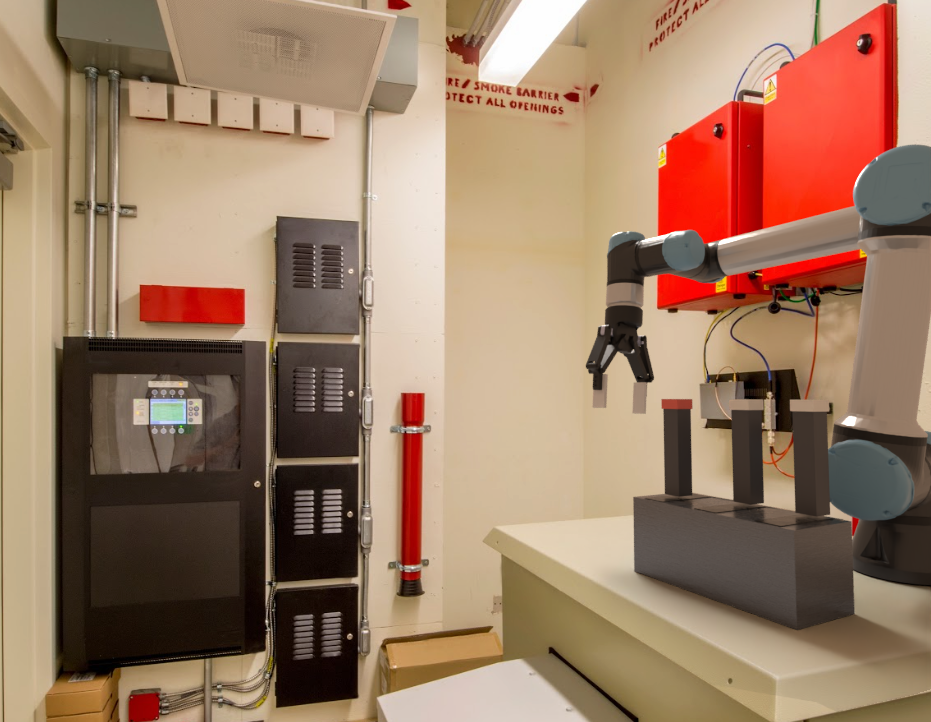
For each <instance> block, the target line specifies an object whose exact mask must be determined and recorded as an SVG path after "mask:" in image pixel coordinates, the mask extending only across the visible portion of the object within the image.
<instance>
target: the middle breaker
mask: <svg viewBox="0 0 931 722" xmlns="http://www.w3.org/2000/svg"><path fill="white" fill-rule="evenodd" d="M728 402H729V403H728V407H729V408H728V410H730V413H731V414H730V415H731V417H730V418H731V452H732V453H731V456H732V457H731V459H732V491H733V493H732V497H733V499H732V500H733V502H738V503H744V504H749V505H753V504H760V505H762V504H765V493H764V491H765V489H764V487H765V486H764V455H763V453H764V452H763V451H764V450H763V447H764V446H763V415H762V414H763V413H762V411H764V410H765V409H764V399H763V398H761V399H758V398H757V399H754V398H753V399H752V398H751V399H749V398H745V399H744V398H742V399H741V398H739V399H737V398H736V399H734V398H733V399H732V398H731V399H730V398H729V399H728Z"/></svg>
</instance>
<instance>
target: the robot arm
mask: <svg viewBox="0 0 931 722" xmlns="http://www.w3.org/2000/svg"><path fill="white" fill-rule="evenodd" d="M852 198H853V199H852V200H853V206H849V207H844V208H841V209H838V210H834V211H829V212H825V213H821V214H818V215H817V214H816V215H813V216H809V217H806V218H802V219H797V220H793V221H790V222H785V223H782V224H778V225H774V226H770V227H765V228H762V229H758V230H754V231H751V232H745V233H742V234H738V235H734V236H730V237H727V238H723V239H719V240H715V241H711V242H707V243H705V242H704V240H703V238H702V237H701V236H700V235H699V233H698V232H697V231H696V230H693V229H687V230H675V231H672V232H670V233H667V234H663V235H659V236H655V237H650V238H646V237H645V235H644V234H643V233H641V232H638V231H633V230H631V231H630V230H629V231H620V232H617V233H614V234H613V235H611V237H610V238H609V240H608V249H607V254H606V259H607V260H606V261H607V262H606V263H607V267H606V269H607V271H606V272H607V273H606V274H607V276H606V278H607V279H606V293H605V294H606V296H605V306H606V308H605V310H604V311H605V312H604V325H603V324H602V325H599V326H598V327H597V335H596V337H595V340H594V343H593V345H592V348H591V350H590V353H589V356H588V358H587V361H586V364H585V369H586V370H587V371H588V374H589V375H592V391H593V392H592V408H593V409H595V408H596V409H599V408H600V409H601V408H602V409H604V408H605V409H606V408H607V401H608V400H607V399H608V381H609V379H608V378H609V377H608V376H609V374H608V373H605V372H606V371H607V369H608V368H609V366H610V364H611V363H612V362H613V360H614V358H615V356H616V355H617V354H618V353H620V354H622V355H623V356H624V357H625V358H626V360H627V361H628V364H629V366H630V369H631V372H632V373H633V374H632V375H633V376H634V379H635V381H634V382H633V391H632V394H633V395H632V414H636V415H637V414H638V415H639V414H640V415H642V414H643V415H644V414H645V415H646V413H647V397H648V383H649V384H650V383H653V382H654V381H655V376H654V371H653V367H652V362H651V357H650V352H649V349H648V341H647V340H648V339H647V335H644V334H643V335H638V329H639V328H641V327H642V326H643V319H644V318H643V316H644V315H643V314H644V311H643V306H644V295H645V294H644V291H645V289H644V287H645V286H644V285H645V278H647V277H648V278H649V277H653V276H654V277H655V276H660V275H661V276H662V275H673V276H677V277H681V278H685V279H689V280H693V281H696V282H698V283H701V284H715V283H719V282H721V281H722V280H723V279H725V278H726V277H729V276H733V275H740V274H744V273H748V272H755V271H757V270H763V269H767V268H773V267H777V266H782V265H783V266H784V265H788V264H793V263H798V262H803V261H808V260H809V261H810V260H812V259H813V260H814V259H818V258H822V257H828V256H832V255H833V256H834V255H838V254H843V253H847V252H848V253H849V252H853V251H858V250H862V251H863V252H864V253H865V255H866V256H867V257H866V264H865V265H866V266H865V272H864V279H863V285H862V286H863V287H862V296H861V303H860V308H859V309H860V311H859V316H858V318H859V319H858V325H857V334H856V339H855V349H854V357H853V363H852V371H851V372H852V373H851V379H850V387H849V394H848V403H847V409H846V412H845V413H844V414H843V415H841V416H840V417H839V418H837V419H836V420H834V422H833V429H832V436H831V437H832V438H831V443H830V447H828V461H829V492H830V504H832V506H833V507H835V509H836V510H838V511H840V512H842V513H843V514H845V515H847V516H849V517H852V518H855V519H858V523H857V525H856V528H855V531H854V534H853V535H852V551H853V571H856V572H858V573H862V574H864V575H867V576H871V577H874V578H879V579H882V580H887V581H891V582H892V581H893V582H897V583H904V584H905V583H906V584H912V585H920V586H921V585H922V586H923V585H924V586H931V431H929V430H928V431H927V430H924V429H923V428H922V426H921V425H920V424H919V423H918V421H917V419H918V412H919V404H920V396H921V391H922V390H921V388H922V381H923V374H924V369H925V368H924V367H925V362H926V360H925V359H926V354H927V345H928V337H929V329H930V325H931V146H929V145H925V144H917V143H916V144H915V143H914V144H906V145H900V146H896V147H893V148H890V149H889V150H886V151H884V152H882V153H880V154H879V155H877V156H876V157H874V158H873V159H872V160H871V161H870V162H869V163H867V164H866V166H865V167H864V168H862V170H861V172H860V173H859V174H858V177H857V178H856V180H855V183H854V186H853V189H852Z"/></svg>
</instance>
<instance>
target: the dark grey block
mask: <svg viewBox="0 0 931 722" xmlns="http://www.w3.org/2000/svg"><path fill="white" fill-rule="evenodd" d="M632 498H633V499H632V500H633V563H634V564H633V566H634V567H633V569H634V570H633V571H634V572H636V573H638V574H641V575H644V576H647V577H648V578H649V577H650V578H653V579H654V580H658V581H660V582H663V583H666V584H668V585H671V586H674V587H677V588H679V589H682V590H686V591H688V592H691V593H694V594H697V595H700V596H702V597H705V598H708V599H710V600H713V601H715V602H719V603H721V604H724V605H726V604H727V606H729V605H730V606H729V607H732V608H734V609H735V608H736V609H739V610H740V609H741V611H743V610H744V611H743V612H746V613H749V614H751V613H752V615H755V616H757V617H761V618H763V619H765V620H768V621H770V622H774V623H777V624H780V625H782V626H784V627H788V628H790V629H793V630H796V631H798V630H802V629H805V628H810V627H813V626H816V625H820V624H823V623H827V622H830V621H835V620H837V619H841V618H842V619H843V618H845V617H849V616H852V615H855V612H856V611H855V585H854V581H855V580H854V569H853V551H852V539H853V532H852V531H853V525H852V521H851V520H845V519H844V518H840V517H839V518H838V517H832V516H828V515H825V516H818V517H816V516H810V515H805V514H799V513H795V509H794V510H793V509H788V508H781V507H775V506H772V505H771V506H770V505H764V504H753V505H749V504H744V503H738V502H733V499H730V498H725V497H720V496H714V495H708V494H702V493H696V492H692V496H682V497H678V496H672V495H667V494H665V493H662V494H661V493H659V494H649V495H640V496H633V497H632Z"/></svg>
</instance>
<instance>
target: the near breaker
mask: <svg viewBox="0 0 931 722" xmlns="http://www.w3.org/2000/svg"><path fill="white" fill-rule="evenodd" d="M829 400H830V399H789V411H790V412H792V436H793V437H792V442H793V444H792V446H793V477H794V480H793V481H794V506H795V507H794V511H795V513H799V514H805V515H810V516H816V517H818V516H830V515H831V502H830V492H829V461H828V449H829V439H828V438H829V437H828V432H829V431H828V412H830V401H829Z"/></svg>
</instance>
